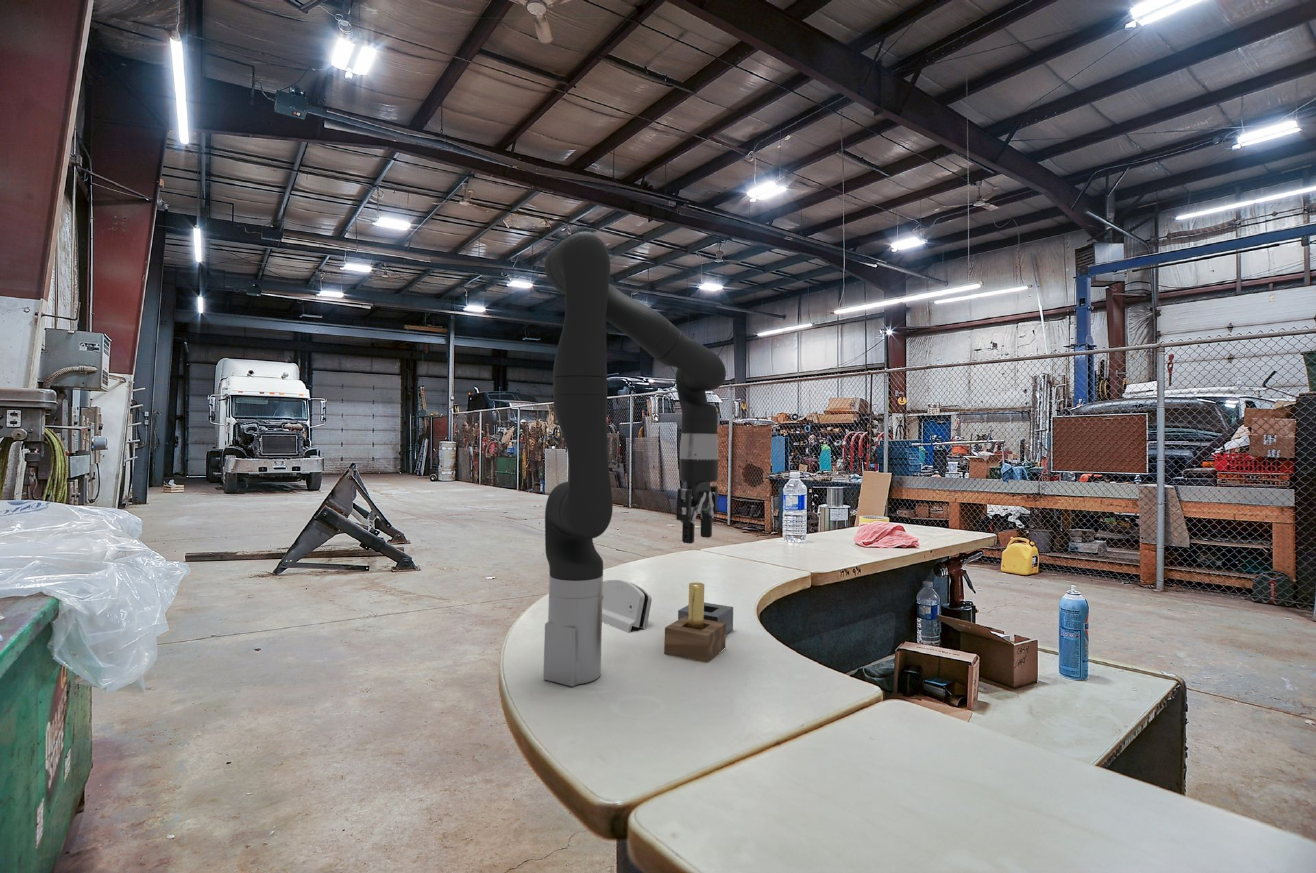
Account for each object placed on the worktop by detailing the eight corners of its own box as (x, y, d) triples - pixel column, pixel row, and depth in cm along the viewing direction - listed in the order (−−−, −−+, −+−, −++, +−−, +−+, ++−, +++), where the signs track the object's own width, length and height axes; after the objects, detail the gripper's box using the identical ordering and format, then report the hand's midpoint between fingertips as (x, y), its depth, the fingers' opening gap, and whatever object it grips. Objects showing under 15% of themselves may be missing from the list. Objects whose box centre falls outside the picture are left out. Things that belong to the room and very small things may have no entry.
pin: (699, 654, 115) (700, 586, 115) (685, 651, 116) (686, 584, 116) (705, 650, 117) (706, 583, 118) (691, 647, 119) (692, 581, 119)
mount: (707, 662, 111) (707, 635, 111) (664, 653, 115) (664, 627, 115) (725, 648, 119) (725, 623, 119) (684, 640, 123) (684, 616, 123)
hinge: (584, 615, 140) (597, 572, 142) (599, 618, 142) (611, 577, 145) (629, 633, 127) (642, 586, 129) (645, 636, 130) (657, 590, 132)
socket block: (717, 641, 123) (717, 617, 123) (677, 634, 127) (678, 610, 127) (732, 629, 131) (733, 606, 131) (695, 623, 135) (695, 601, 135)
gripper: (701, 458, 109) (700, 547, 109) (730, 457, 122) (728, 537, 122) (665, 457, 113) (663, 543, 113) (696, 456, 125) (695, 533, 125)
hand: (697, 539), depth 117 cm, fingers open, 8 cm apart
